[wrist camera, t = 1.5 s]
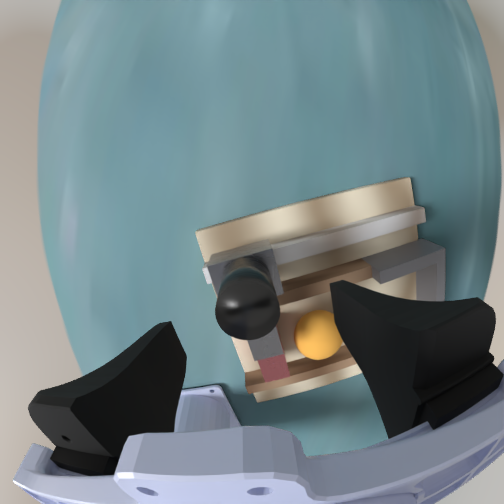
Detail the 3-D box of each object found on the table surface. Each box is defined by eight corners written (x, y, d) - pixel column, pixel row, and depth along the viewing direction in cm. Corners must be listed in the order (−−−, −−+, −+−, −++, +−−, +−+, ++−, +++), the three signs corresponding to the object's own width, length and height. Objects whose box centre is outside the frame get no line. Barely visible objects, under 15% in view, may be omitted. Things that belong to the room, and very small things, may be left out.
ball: (294, 347, 23) (303, 375, 19) (285, 309, 22) (294, 335, 18) (337, 334, 23) (352, 360, 19) (331, 295, 22) (348, 318, 18)
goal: (369, 344, 24) (383, 365, 20) (360, 258, 21) (379, 271, 18) (423, 321, 23) (440, 338, 20) (422, 238, 21) (445, 247, 18)
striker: (251, 360, 23) (256, 432, 15) (213, 248, 20) (196, 295, 12) (295, 348, 23) (316, 418, 15) (266, 234, 20) (282, 272, 12)
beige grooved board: (256, 396, 26) (258, 416, 23) (197, 229, 21) (190, 238, 18) (413, 344, 25) (426, 359, 22) (404, 177, 20) (423, 178, 18)
